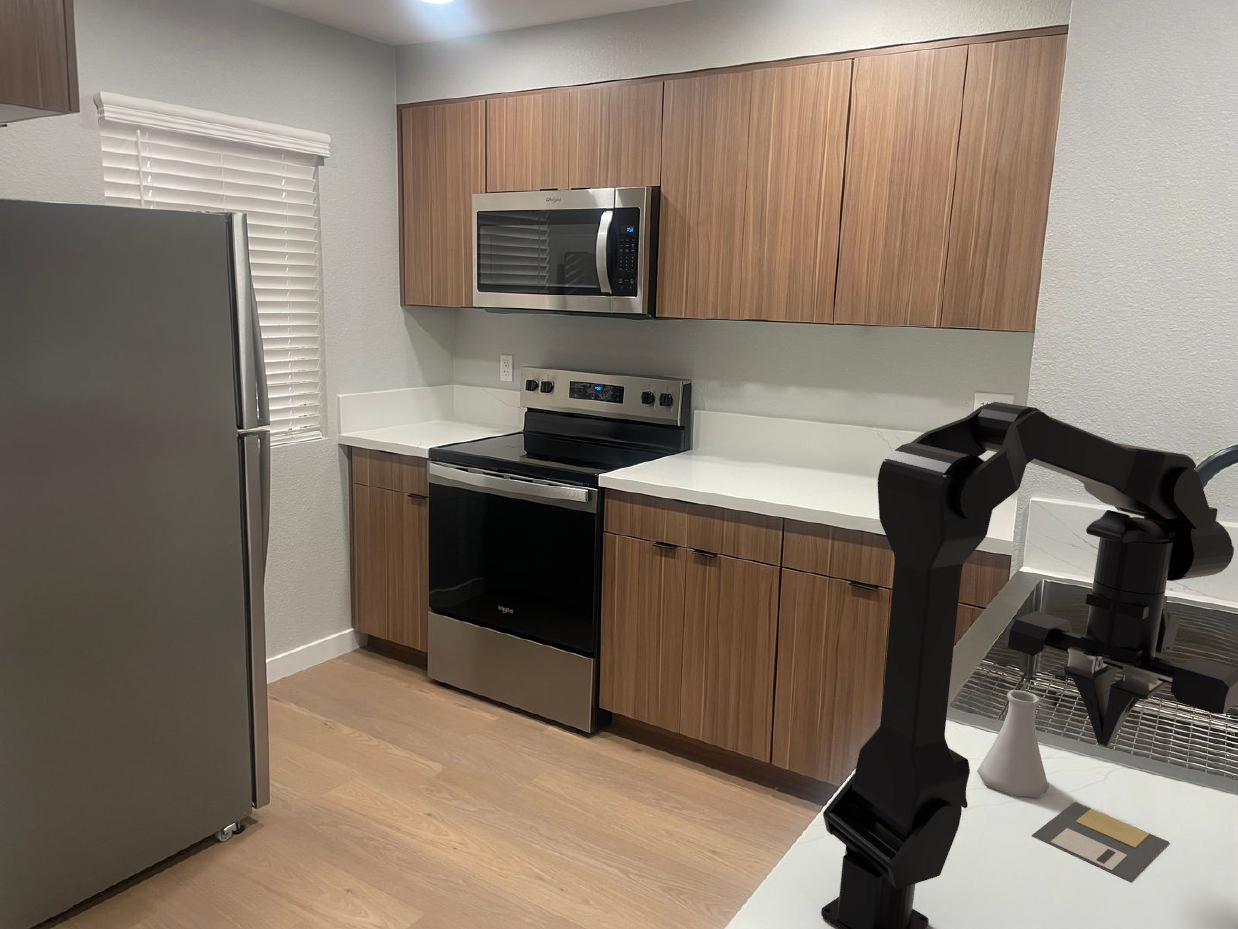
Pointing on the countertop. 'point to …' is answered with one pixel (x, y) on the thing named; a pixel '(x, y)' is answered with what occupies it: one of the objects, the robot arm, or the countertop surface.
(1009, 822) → the countertop surface
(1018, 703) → the flask
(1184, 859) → the countertop surface
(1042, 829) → the floppy disk
